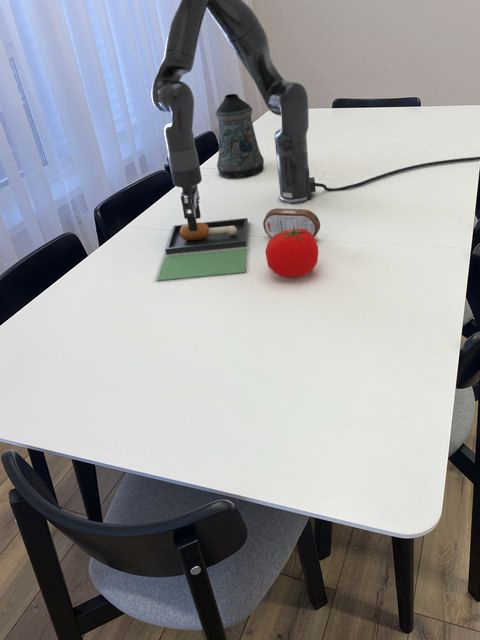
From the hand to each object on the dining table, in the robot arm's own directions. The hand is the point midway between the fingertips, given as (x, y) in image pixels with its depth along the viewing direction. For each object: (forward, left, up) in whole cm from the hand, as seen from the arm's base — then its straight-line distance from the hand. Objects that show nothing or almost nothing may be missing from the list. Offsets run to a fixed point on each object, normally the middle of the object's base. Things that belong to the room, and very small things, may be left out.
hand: (195, 224), depth 157 cm
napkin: (-3, +15, -5) cm, 16 cm away
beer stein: (-9, -56, -5) cm, 57 cm away
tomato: (-26, +24, -5) cm, 36 cm away
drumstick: (-3, 0, -4) cm, 5 cm away
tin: (-26, +6, -5) cm, 27 cm away
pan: (-3, 0, -5) cm, 6 cm away
